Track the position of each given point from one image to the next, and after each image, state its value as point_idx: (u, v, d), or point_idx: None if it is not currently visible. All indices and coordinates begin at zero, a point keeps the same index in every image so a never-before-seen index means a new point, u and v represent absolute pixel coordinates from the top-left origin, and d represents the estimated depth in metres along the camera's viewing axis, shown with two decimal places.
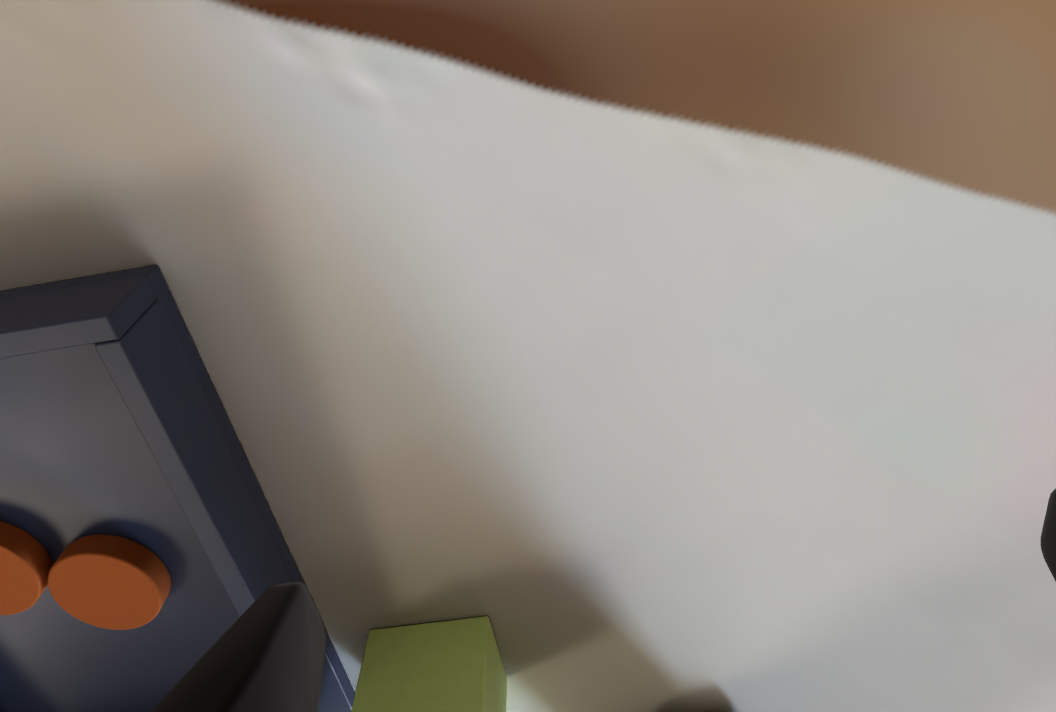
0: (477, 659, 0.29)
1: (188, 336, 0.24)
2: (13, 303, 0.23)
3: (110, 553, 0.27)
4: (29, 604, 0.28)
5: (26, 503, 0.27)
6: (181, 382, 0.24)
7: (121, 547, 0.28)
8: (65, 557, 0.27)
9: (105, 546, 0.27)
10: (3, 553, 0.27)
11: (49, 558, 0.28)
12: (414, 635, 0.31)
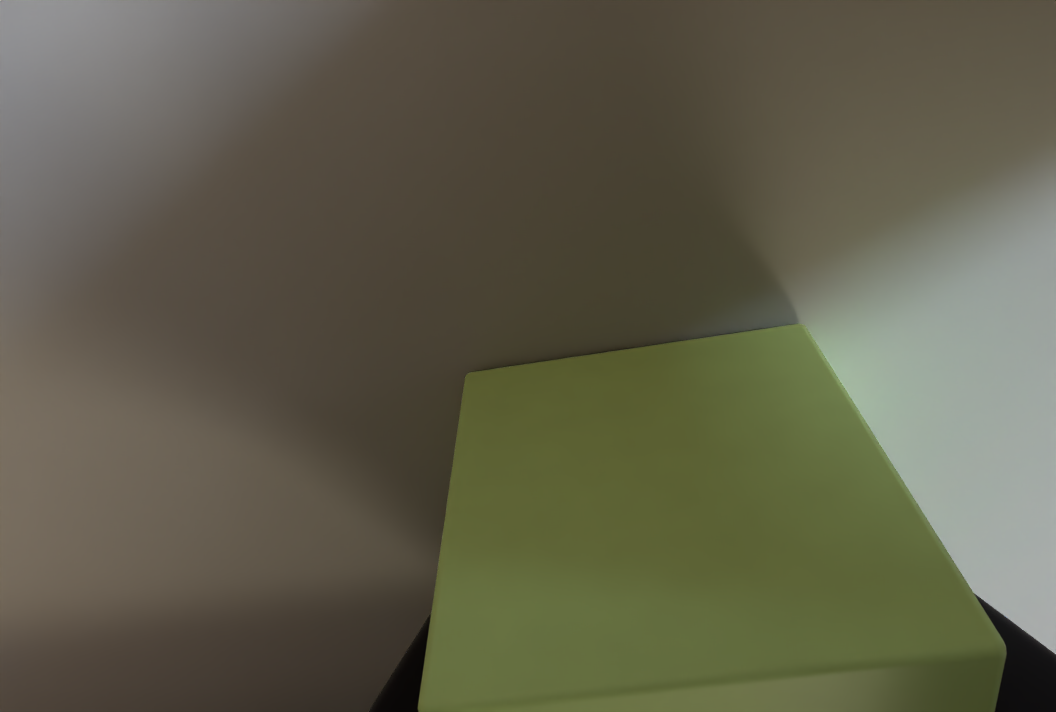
0: None
1: None
2: None
3: None
4: None
5: None
6: None
7: None
8: None
9: None
10: None
11: None
12: None
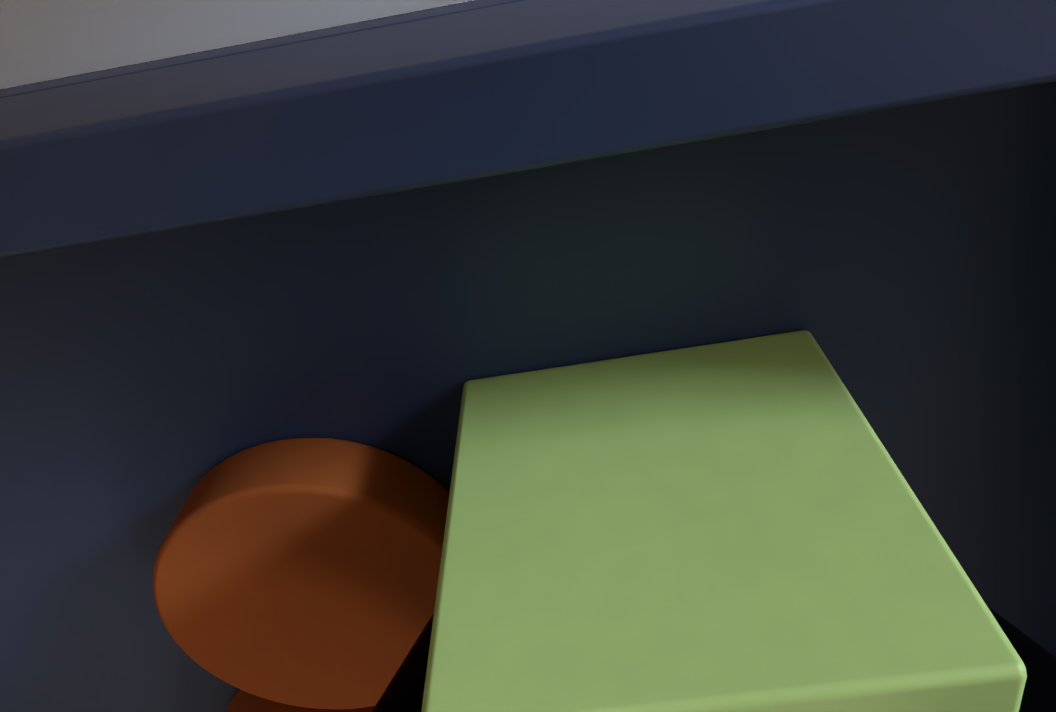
0: None
1: None
2: None
3: None
4: None
5: (160, 657, 0.12)
6: None
7: None
8: (189, 656, 0.10)
9: None
10: None
11: None
12: None
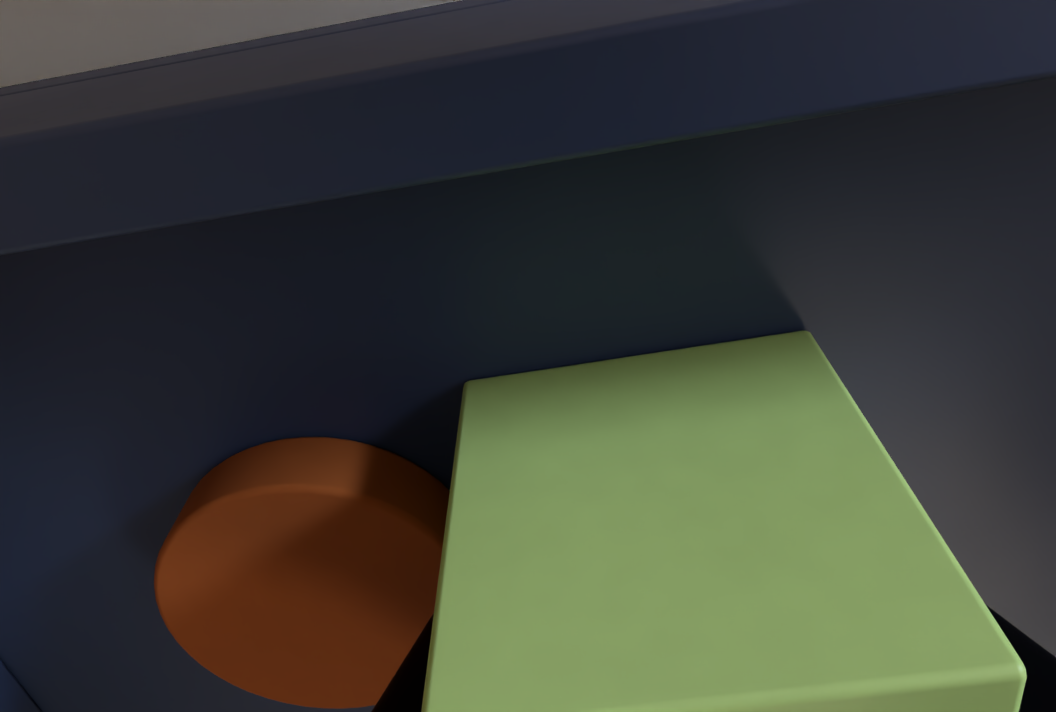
0: None
1: None
2: None
3: None
4: None
5: None
6: None
7: None
8: (190, 655, 0.10)
9: None
10: None
11: None
12: None
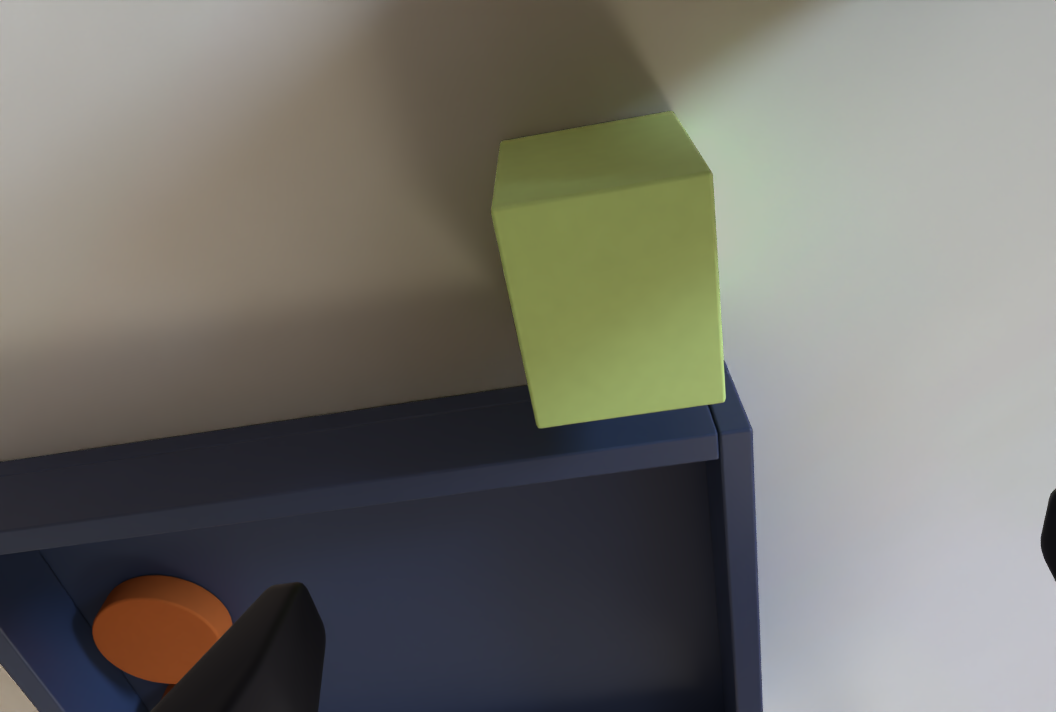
0: None
1: (55, 456, 0.22)
2: None
3: None
4: None
5: None
6: (56, 484, 0.21)
7: None
8: (109, 661, 0.25)
9: None
10: None
11: None
12: None
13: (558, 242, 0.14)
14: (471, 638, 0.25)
